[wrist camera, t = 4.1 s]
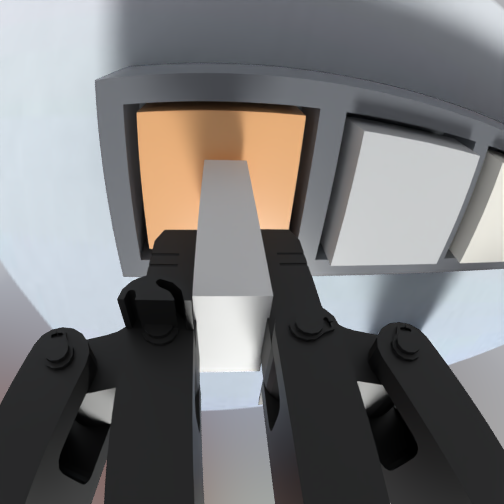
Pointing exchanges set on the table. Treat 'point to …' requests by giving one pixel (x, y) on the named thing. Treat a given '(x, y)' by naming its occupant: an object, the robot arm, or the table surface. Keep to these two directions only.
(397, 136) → the key grey
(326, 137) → the keypad
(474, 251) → the key cream
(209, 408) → the table surface
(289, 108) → the key orange
